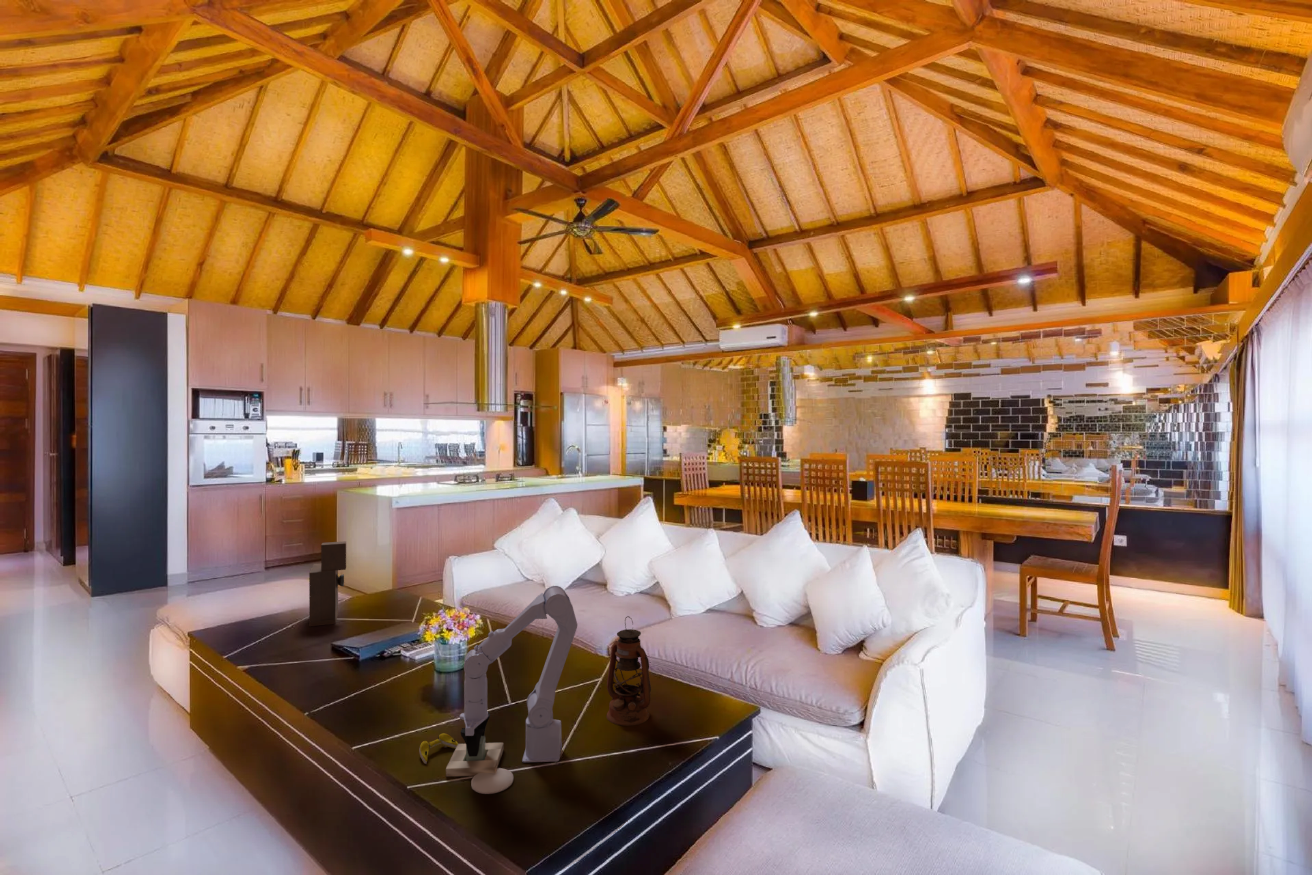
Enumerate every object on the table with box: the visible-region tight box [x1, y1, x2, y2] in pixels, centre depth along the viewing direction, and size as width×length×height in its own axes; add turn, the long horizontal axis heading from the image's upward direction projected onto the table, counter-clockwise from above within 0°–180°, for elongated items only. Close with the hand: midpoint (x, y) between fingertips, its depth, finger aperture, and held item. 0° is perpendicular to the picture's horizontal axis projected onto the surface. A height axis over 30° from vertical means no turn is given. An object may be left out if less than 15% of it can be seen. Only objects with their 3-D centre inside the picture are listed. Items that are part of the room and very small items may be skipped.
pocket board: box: [445, 742, 504, 777], centre depth 160 cm, size 12×12×2 cm
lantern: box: [606, 615, 652, 727], centre depth 186 cm, size 17×13×30 cm
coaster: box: [470, 767, 514, 795], centre depth 151 cm, size 10×10×1 cm
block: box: [466, 735, 486, 761], centre depth 160 cm, size 4×4×6 cm
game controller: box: [418, 732, 459, 765], centre depth 165 cm, size 10×6×4 cm, turn 141°
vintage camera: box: [308, 541, 347, 627], centre depth 279 cm, size 19×14×35 cm
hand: (475, 749), depth 160 cm, fingers open, 5 cm apart
